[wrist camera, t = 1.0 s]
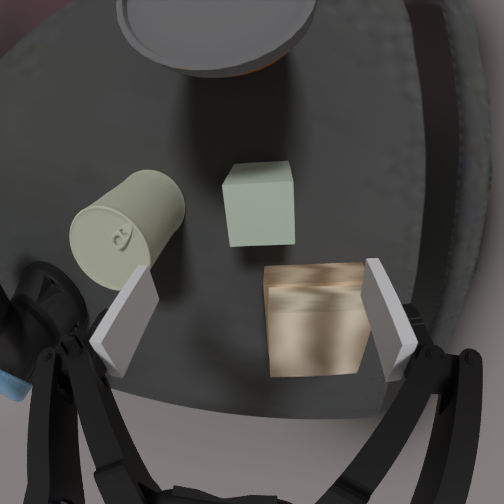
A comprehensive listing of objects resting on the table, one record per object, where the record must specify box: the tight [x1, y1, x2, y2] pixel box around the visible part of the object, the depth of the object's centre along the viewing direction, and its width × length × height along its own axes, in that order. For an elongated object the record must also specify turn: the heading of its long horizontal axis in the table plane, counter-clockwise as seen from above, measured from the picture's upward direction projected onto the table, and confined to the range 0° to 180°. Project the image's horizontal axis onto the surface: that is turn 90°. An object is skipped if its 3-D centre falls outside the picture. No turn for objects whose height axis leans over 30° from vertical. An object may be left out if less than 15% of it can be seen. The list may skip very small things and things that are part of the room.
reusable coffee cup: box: [116, 0, 317, 78], centre depth 17 cm, size 13×13×15 cm
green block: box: [222, 161, 295, 247], centre depth 29 cm, size 6×6×8 cm
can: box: [70, 170, 185, 291], centre depth 29 cm, size 9×9×12 cm
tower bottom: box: [263, 262, 365, 355], centre depth 38 cm, size 13×13×4 cm
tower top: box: [268, 285, 371, 377], centre depth 34 cm, size 12×12×4 cm
